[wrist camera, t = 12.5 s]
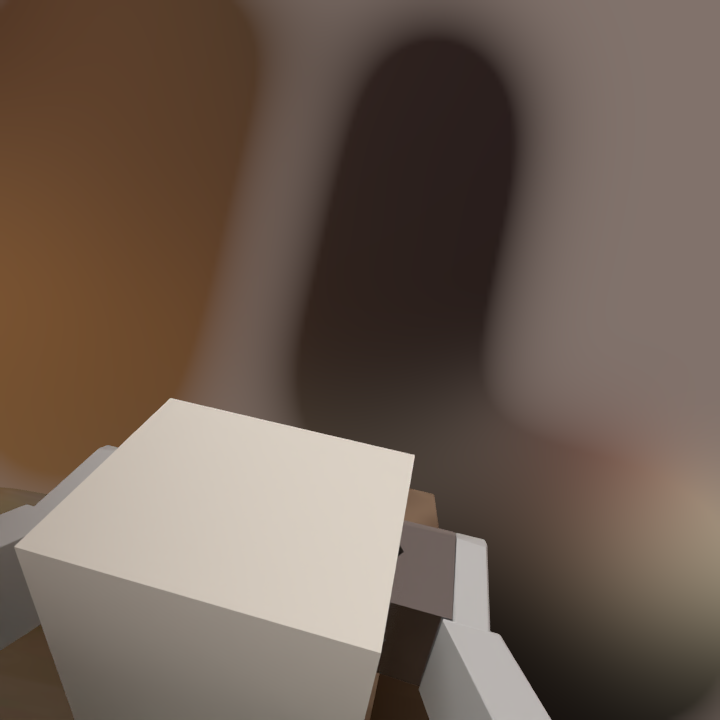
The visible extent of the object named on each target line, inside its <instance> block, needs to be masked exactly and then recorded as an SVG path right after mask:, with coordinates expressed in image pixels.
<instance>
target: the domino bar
mask: <svg viewBox="0 0 720 720" xmlns="http://www.w3.org/2000/svg"><path fill="white" fill-rule="evenodd" d="M414 457H415V455H411V454H407V453H403V452H398V451H394V450H390V449H386V448H382V447H377V446H373V445H369V444H364V443H360V442H356V441H351V440H347V439H343V438H338V437H335V436H330V435H326V434H322V433H317V432H313V431H309V430H305V429H300V428H296V427H292V426H288V425H283V424H279V423H274V422H270V421H266V420H262V419H257V418H253V417H249V416H245V415H240V414H236V413H232V412H227V411H223V410H219V409H215V408H211V407H206V406H202V405H198V404H193V403H189V402H185V401H181V400H176V399H172V398H170V399H169V400H168V401H167V402H166V403H165V404H164V405H163V406H162V407H161V408H160V409H159V410H158V411H157V412H156V413H154V414H153V415H152V416H151V417H150V418H149V419H148V420H147V421H146V422H145V423H144V424H143V425H142V426H141V427H140V428H139V429H138V430H137V431H135V432H134V433H133V434H132V435H131V436H130V437H129V438H128V439H127V440H126V441H125V442H124V443H123V444H122V445H121V446H120V447H119V448H118V449H116V450H115V451H114V452H113V453H112V454H111V455H110V456H109V457H108V458H107V459H106V460H105V461H104V462H103V463H102V464H101V465H100V466H99V467H98V468H96V469H95V470H94V471H93V472H92V473H91V474H90V475H89V476H88V477H87V478H86V479H85V480H84V481H83V482H82V483H81V484H80V485H79V486H77V487H76V488H75V489H74V490H73V491H72V492H71V493H70V494H69V495H68V496H67V497H66V498H65V499H64V500H63V501H62V502H61V503H60V504H58V505H57V506H56V507H55V508H54V509H53V510H52V511H51V512H50V513H49V514H48V515H47V516H46V517H45V518H44V519H43V520H42V521H41V522H40V523H38V524H37V525H36V526H35V527H34V528H33V529H32V530H31V531H30V532H29V533H28V534H27V535H26V536H25V537H24V538H23V539H22V540H21V541H19V542H18V543H17V544H16V545H15V546H14V548H15V551H16V554H17V557H18V560H19V563H20V566H21V568H22V571H23V574H24V577H25V580H26V583H27V585H28V588H29V591H30V594H31V597H32V600H33V602H34V605H35V608H36V611H37V614H38V617H39V620H40V622H41V625H42V628H43V631H44V634H45V637H46V639H47V642H48V645H49V648H50V651H51V654H52V656H53V659H54V662H55V665H56V668H57V671H58V674H59V676H60V679H61V682H62V685H63V688H64V691H65V693H66V696H67V699H68V702H69V705H70V708H71V710H72V713H73V716H74V719H75V720H364V719H365V715H366V711H367V707H368V703H369V699H370V695H371V691H372V687H373V683H374V679H375V675H376V671H377V667H378V663H379V660H380V656H381V651H382V645H383V639H384V633H385V627H386V621H387V616H388V610H389V604H390V598H391V592H392V586H393V580H394V574H395V569H396V563H397V557H398V551H399V545H400V539H401V533H402V527H403V522H404V516H405V510H406V504H407V498H408V492H409V486H410V480H411V474H412V468H413V463H414Z"/></svg>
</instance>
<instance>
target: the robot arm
mask: <svg viewBox="0 0 720 720" xmlns="http://www.w3.org/2000/svg"><path fill="white" fill-rule="evenodd" d="M116 449H118V448H117V447H113V446H109V445H107V446H104V447H102V448H100V449H98V450H97V451H95V452H94V453H93V454H92V455H91V456H90V457H89V458H88V459H87V460H85V461H84V462H83V463H82V464H81V465H80V466H79V467H78V468H77V469H75V470H74V471H73V472H72V473H71V474H70V475H69V476H68V477H67V478H65V479H64V480H63V481H62V482H61V483H60V484H59V485H58V486H56V487H55V488H54V489H53V490H52V491H51V492H50V493H49V494H48V495H46V496H45V497H44V498H43V499H42V500H41V501H40V502H39V503H38V504H36V505H35V506H31V505H24V506H21V507H19V508H16V509H14V510H11V511H8V512H6V513H3V514H1V515H0V650H2V649H3V648H5V647H6V646H8V645H9V644H11V643H12V642H14V641H16V640H17V639H19V638H20V637H22V636H23V635H25V634H26V633H28V632H29V631H31V630H33V629H34V628H36V627H37V626H39V625H40V624H41V622H40V620H39V617H38V614H37V611H36V608H35V605H34V602H33V600H32V597H31V594H30V591H29V588H28V585H27V583H26V580H25V577H24V574H23V571H22V568H21V566H20V563H19V560H18V557H17V554H16V551H15V548H14V546H15V545H16V544H17V543H18V542H19V541H21V540H22V539H23V538H24V537H25V536H26V535H27V534H28V533H29V532H30V531H31V530H32V529H33V528H34V527H35V526H36V525H37V524H38V523H40V522H41V521H42V520H43V519H44V518H45V517H46V516H47V515H48V514H49V513H50V512H51V511H52V510H53V509H54V508H55V507H56V506H57V505H58V504H60V503H61V502H62V501H63V500H64V499H65V498H66V497H67V496H68V495H69V494H70V493H71V492H72V491H73V490H74V489H75V488H76V487H77V486H79V485H80V484H81V483H82V482H83V481H84V480H85V479H86V478H87V477H88V476H89V475H90V474H91V473H92V472H93V471H94V470H95V469H96V468H98V467H99V466H100V465H101V464H102V463H103V462H104V461H105V460H106V459H107V458H108V457H109V456H110V455H111V454H112V453H113V452H114V451H115V450H116ZM487 560H488V559H487V544H486V542H485V540H483V539H479V538H475V537H471V536H467V535H463V534H459V533H454V532H451V531H447V530H443V529H439V528H434V527H430V526H426V525H422V524H418V523H414V522H409V521H405V520H404V522H403V527H402V533H401V539H400V545H399V551H398V557H397V563H396V569H395V574H394V580H393V586H392V592H391V598H390V604H389V610H388V616H387V621H386V627H385V633H384V639H383V645H382V651H381V656H380V660H379V663H378V667H377V671H376V672H377V673H380V674H383V675H386V676H389V677H392V678H395V679H398V680H401V681H404V682H407V683H410V684H414V685H417V686H420V687H419V691H420V694H421V697H422V700H423V703H424V706H425V708H426V711H427V714H428V717H429V720H551V719H550V717H549V715H548V714H547V712H546V710H545V709H544V707H543V706H542V704H541V702H540V700H539V699H538V697H537V695H536V694H535V692H534V691H533V689H532V687H531V686H530V684H529V682H528V681H527V679H526V677H525V676H524V674H523V672H522V671H521V669H520V667H519V666H518V664H517V662H516V661H515V659H514V657H513V656H512V654H511V653H510V651H509V649H508V648H507V646H506V644H505V643H504V641H503V639H502V638H501V636H500V635H499V634H496V633H493V632H490V618H489V589H488V561H487Z"/></svg>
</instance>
